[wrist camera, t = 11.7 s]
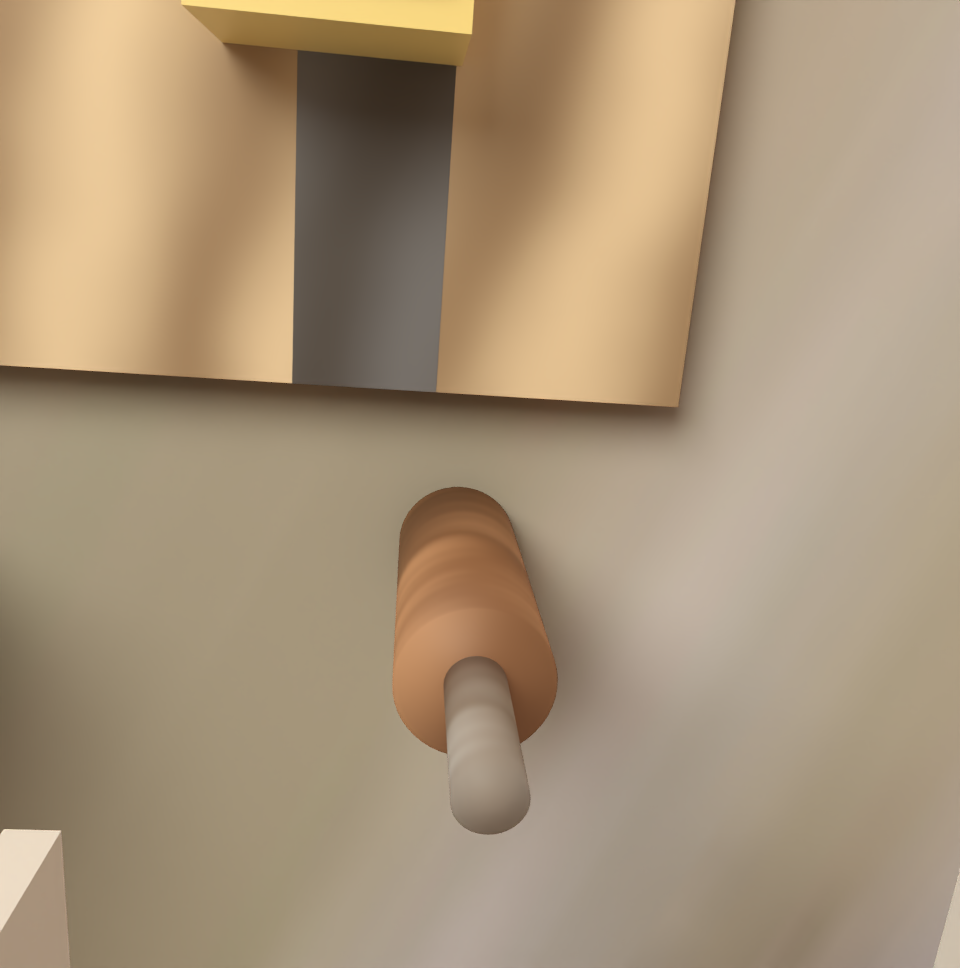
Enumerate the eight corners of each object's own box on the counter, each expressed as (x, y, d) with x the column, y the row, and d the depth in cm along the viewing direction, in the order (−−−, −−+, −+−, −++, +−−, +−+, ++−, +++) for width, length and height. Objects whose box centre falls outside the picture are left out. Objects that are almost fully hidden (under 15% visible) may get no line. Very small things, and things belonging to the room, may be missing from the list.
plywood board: (-246, 340, 25) (-288, 347, 23) (-347, -311, 20) (-404, -351, 19) (664, 397, 27) (678, 407, 25) (742, -176, 23) (764, -203, 21)
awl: (396, 592, 28) (381, 885, 16) (402, 484, 27) (391, 705, 15) (508, 596, 28) (581, 887, 16) (518, 490, 27) (604, 712, 15)
